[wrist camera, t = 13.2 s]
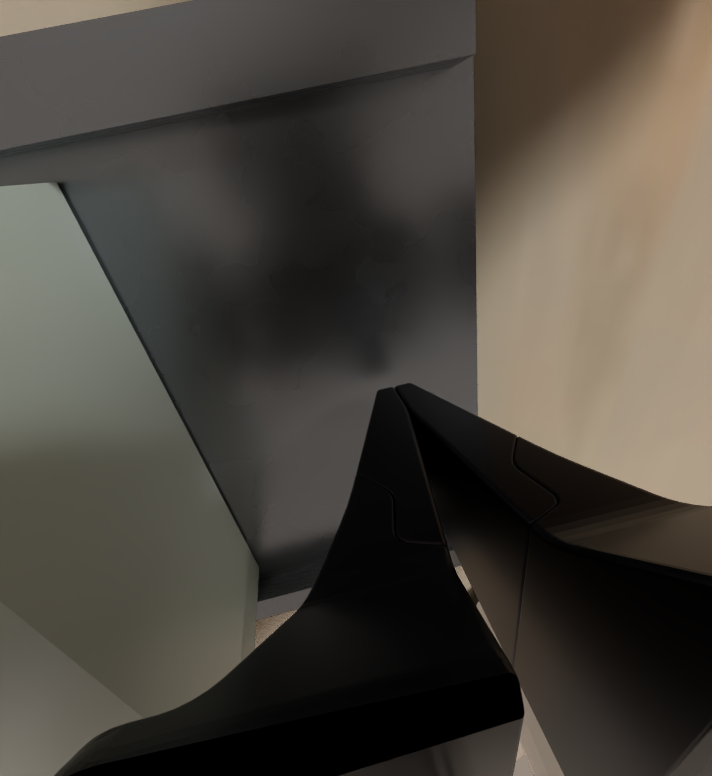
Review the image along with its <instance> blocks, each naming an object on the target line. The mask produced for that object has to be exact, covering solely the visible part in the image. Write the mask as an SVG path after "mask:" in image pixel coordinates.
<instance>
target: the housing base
mask: <svg viewBox="0 0 712 776" xmlns="http://www.w3.org/2000/svg"><path fill="white" fill-rule="evenodd" d="M475 54H476V0H193V1H188V2H182V3H177V4H172V5H166V6H161V7H156V8H151V9H145V10H140V11H135V12H129V13H124V14H119V15H113V16H108V17H103V18H98V19H92V20H87V21H82V22H76V23H71V24H66V25H60V26H55V27H50V28H45V29H39V30H34V31H29V32H23V33H18V34H13V35H7V36H2V37H0V186H12V185H24V184H37V183H49V182H57V184H58V186H59V188H60V190H61V192H62V194H63V196H64V198H65V199H66V201H67V203H68V205H69V207H70V209H71V211H72V213H73V215H74V217H75V218H76V220H77V222H78V224H79V226H80V228H81V230H82V232H83V234H84V236H85V237H86V239H87V241H88V243H89V245H90V247H91V249H92V251H93V253H94V255H95V256H96V258H97V260H98V262H99V264H100V266H101V268H102V270H103V272H104V274H105V275H106V277H107V279H108V281H109V283H110V285H111V287H112V289H113V291H114V293H115V294H116V296H117V298H118V300H119V302H120V304H121V306H122V308H123V310H124V312H125V313H126V315H127V317H128V319H129V321H130V323H131V325H132V327H133V329H134V331H135V332H136V334H137V336H138V338H139V340H140V342H141V344H142V346H143V348H144V350H145V351H146V353H147V355H148V357H149V359H150V361H151V363H152V365H153V367H154V369H155V370H156V372H157V374H158V376H159V378H160V380H161V382H162V384H163V386H164V388H165V389H166V391H167V393H168V395H169V397H170V399H171V401H172V403H173V405H174V407H175V408H176V410H177V412H178V414H179V416H180V418H181V420H182V422H183V424H184V426H185V427H186V429H187V431H188V433H189V435H190V437H191V439H192V441H193V443H194V445H195V446H196V448H197V450H198V452H199V454H200V456H201V458H202V460H203V462H204V464H205V465H206V467H207V469H208V471H209V473H210V475H211V477H212V479H213V481H214V483H215V484H216V486H217V488H218V490H219V492H220V494H221V496H222V498H223V500H224V502H225V503H226V505H227V507H228V509H229V511H230V513H231V515H232V517H233V519H234V521H235V522H236V524H237V526H238V528H239V530H240V532H241V534H242V536H243V538H244V540H245V541H246V543H247V545H248V547H249V549H250V551H251V553H252V555H253V557H254V559H255V560H256V562H257V564H258V566H259V582H258V598H257V615H256V620H259V619H263V618H267V617H271V616H274V615H278V614H282V613H286V612H289V611H293V610H297V609H299V608H300V607H301V605H302V604H303V602H304V601H305V599H306V598H307V596H308V594H309V593H310V591H311V589H312V587H313V585H314V582H315V580H316V578H317V576H318V574H319V571H320V569H321V567H322V564H323V562H324V560H325V557H326V555H327V553H328V551H329V548H330V546H331V544H332V541H333V539H334V537H335V534H336V532H337V530H338V528H339V525H340V523H341V520H342V517H343V515H344V512H345V510H346V507H347V504H348V501H349V498H350V494H351V491H352V487H353V483H354V480H355V476H356V472H357V468H358V464H359V461H360V457H361V453H362V449H363V445H364V441H365V437H366V433H367V429H368V425H369V421H370V417H371V413H372V409H373V405H374V401H375V397H376V393H377V391H378V390H380V389H384V388H389V387H393V388H394V389H395V387H396V386H398V385H402V384H406V383H412V384H414V385H416V386H418V387H420V388H422V389H424V390H426V391H428V392H430V393H432V394H434V395H436V396H438V397H440V398H442V399H444V400H446V401H448V402H450V403H452V404H454V405H456V406H458V407H460V408H462V409H464V410H466V411H468V412H470V413H472V414H475V415H477V416H478V402H477V315H476V229H475V142H474V55H475ZM442 528H443V527H442ZM443 531H444V529H443ZM444 535H445V538H446V542H447V545H448V549H449V552H450V556H451V559H452V562H453V565H454V567H457V566H461V564H460V561H459V559H458V557H457V555H456V553H455V551H454V549H453V547H452V545H451V543H450V541H449V539H448V537H447V535H446V533H445V531H444Z"/></svg>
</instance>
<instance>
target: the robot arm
mask: <svg viewBox="0 0 712 776" xmlns="http://www.w3.org/2000/svg"><path fill="white" fill-rule="evenodd" d="M442 527H443V528H442ZM443 529H444V531H445V533H446V535H447V537H448V539H449V541H450V543H451V545H452V547H453V549H454V551H455V553H456V555H457V557H458V559H459V561H460V564H461V566H462V568H463V570H464V572H465V574H466V576H467V578H468V580H469V582H470V584H471V586H472V588H473V590H474V592H475V594H476V596H477V598H478V600H479V602H480V604H481V606H482V608H483V610H484V613H485V615H486V617H487V619H488V621H489V623H490V625H491V627H492V629H493V631H494V633H495V635H496V637H497V639H498V641H499V643H500V645H501V646H500V645H499V643H498V642H497V640H496V638H495V637H494V635H493V633H492V632H491V630H490V628H489V627H488V625H487V623H486V622H485V620H484V618H483V617H482V615H481V613H480V612H479V610H478V608H477V607H476V605H475V603H474V602H473V600H472V599H471V597H470V595H469V594H468V592H467V590H466V589H465V587H464V585H463V584H462V582H461V580H460V579H459V577H458V575H457V573H456V570H455V568H454V565H453V562H452V559H451V556H450V552H449V549H448V545H447V542H446V538H445V535H444V531H443ZM501 647H502V648H501ZM502 649H503V650H502ZM520 686H521V687H520ZM521 688H522V690H523V692H524V695H525V697H526V699H527V701H528V703H529V705H530V707H531V709H532V711H533V713H534V715H535V717H536V719H537V721H538V723H539V725H540V727H541V729H542V731H543V733H544V735H545V737H546V739H547V741H548V744H549V746H550V748H551V750H552V752H553V754H554V756H555V758H556V760H557V762H558V764H559V766H560V768H561V770H562V772H563V774H564V776H712V506H701V505H693V504H687V503H682V502H678V501H674V500H670V499H667V498H664V497H661V496H658V495H656V494H653V493H650V492H648V491H645V490H643V489H640V488H638V487H635V486H633V485H630V484H628V483H625V482H623V481H620V480H618V479H615V478H613V477H610V476H608V475H605V474H603V473H600V472H598V471H595V470H593V469H590V468H588V467H585V466H583V465H580V464H578V463H575V462H573V461H571V460H568V459H566V458H564V457H561V456H559V455H556V454H554V453H552V452H550V451H548V450H546V449H544V448H542V447H539V446H537V445H535V444H533V443H531V442H529V441H527V440H525V439H523V438H521V437H517V436H516V435H515V434H513V433H511V432H509V431H507V430H505V429H503V428H501V427H499V426H497V425H495V424H493V423H491V422H489V421H487V420H485V419H483V418H481V417H479V416H477V415H475V414H472V413H470V412H468V411H466V410H464V409H462V408H460V407H458V406H456V405H454V404H452V403H450V402H448V401H446V400H444V399H442V398H440V397H438V396H436V395H434V394H432V393H430V392H428V391H426V390H424V389H422V388H420V387H418V386H416V385H414V384H412V383H406V384H402V385H398V386H396V387H395V389H394V388H393V387H389V388H384V389H380V390H378V391H377V393H376V397H375V401H374V405H373V409H372V413H371V417H370V421H369V425H368V429H367V433H366V437H365V441H364V445H363V449H362V453H361V457H360V461H359V464H358V468H357V472H356V476H355V480H354V483H353V487H352V491H351V494H350V498H349V501H348V504H347V507H346V510H345V512H344V515H343V517H342V520H341V523H340V525H339V528H338V530H337V532H336V534H335V537H334V539H333V541H332V544H331V546H330V548H329V551H328V553H327V555H326V557H325V560H324V562H323V564H322V567H321V569H320V571H319V574H318V576H317V578H316V580H315V582H314V585H313V587H312V589H311V591H310V593H309V594H308V596H307V598H306V599H305V601H304V602H303V604H302V605H301V607H300V608H299V609H298V610H297V612H296V613H295V614H293V615H292V616H291V617H290V618H289V619H288V620H287V621H286V622H285V623H284V624H282V625H281V626H280V627H279V628H278V629H277V630H276V631H275V632H274V633H272V634H271V635H270V636H269V637H268V638H267V639H266V640H265V641H264V642H262V643H261V644H260V645H259V646H258V647H257V648H256V649H255V650H254V651H252V652H251V653H250V654H249V655H248V656H247V657H246V658H245V659H244V660H243V661H241V662H240V663H239V664H238V665H237V666H236V667H235V668H234V669H233V670H231V671H230V672H229V673H228V674H227V675H226V676H225V677H224V678H222V679H221V680H220V681H219V682H218V683H216V684H215V685H214V686H213V687H211V688H210V689H209V690H207V691H206V692H204V693H202V694H201V695H199V696H198V697H196V698H194V699H193V700H191V701H189V702H187V703H185V704H183V705H181V706H179V707H177V708H175V709H173V710H170V711H167V712H164V713H161V714H158V715H155V716H151V717H147V718H143V719H140V720H136V721H132V722H128V723H125V724H122V725H119V726H116V727H113V728H111V729H109V730H107V731H105V732H103V733H101V734H99V735H97V736H96V737H94V738H93V739H91V740H90V741H89V742H88V743H87V744H85V745H84V746H83V747H82V748H81V749H80V750H79V751H78V752H77V753H76V754H75V755H74V756H73V757H72V758H71V759H70V760H69V761H68V762H67V763H66V764H65V765H64V766H63V767H62V768H61V769H60V770H59V771H58V772H57V773H56V774H55V775H54V776H513V772H514V767H515V762H516V756H517V751H518V746H519V740H520V735H521V730H522V724H523V719H524V714H525V711H524V704H523V698H522V693H521Z"/></svg>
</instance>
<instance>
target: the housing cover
mask: <svg viewBox="0 0 712 776" xmlns="http://www.w3.org/2000/svg"><path fill="white" fill-rule="evenodd" d="M258 582H259V566H258V564H257V562H256V560H255V559H254V557H253V555H252V553H251V551H250V549H249V547H248V545H247V543H246V541H245V540H244V538H243V536H242V534H241V532H240V530H239V528H238V526H237V524H236V522H235V521H234V519H233V517H232V515H231V513H230V511H229V509H228V507H227V505H226V503H225V502H224V500H223V498H222V496H221V494H220V492H219V490H218V488H217V486H216V484H215V483H214V481H213V479H212V477H211V475H210V473H209V471H208V469H207V467H206V465H205V464H204V462H203V460H202V458H201V456H200V454H199V452H198V450H197V448H196V446H195V445H194V443H193V441H192V439H191V437H190V435H189V433H188V431H187V429H186V427H185V426H184V424H183V422H182V420H181V418H180V416H179V414H178V412H177V410H176V408H175V407H174V405H173V403H172V401H171V399H170V397H169V395H168V393H167V391H166V389H165V388H164V386H163V384H162V382H161V380H160V378H159V376H158V374H157V372H156V370H155V369H154V367H153V365H152V363H151V361H150V359H149V357H148V355H147V353H146V351H145V350H144V348H143V346H142V344H141V342H140V340H139V338H138V336H137V334H136V332H135V331H134V329H133V327H132V325H131V323H130V321H129V319H128V317H127V315H126V313H125V312H124V310H123V308H122V306H121V304H120V302H119V300H118V298H117V296H116V294H115V293H114V291H113V289H112V287H111V285H110V283H109V281H108V279H107V277H106V275H105V274H104V272H103V270H102V268H101V266H100V264H99V262H98V260H97V258H96V256H95V255H94V253H93V251H92V249H91V247H90V245H89V243H88V241H87V239H86V237H85V236H84V234H83V232H82V230H81V228H80V226H79V224H78V222H77V220H76V218H75V217H74V215H73V213H72V211H71V209H70V207H69V205H68V203H67V201H66V199H65V198H64V196H63V194H62V192H61V190H60V188H59V186H58V184H57V182H49V183H37V184H24V185H12V186H0V776H54V775H55V774H56V773H57V772H58V771H59V770H60V769H61V768H62V767H63V766H64V765H65V764H66V763H67V762H68V761H69V760H70V759H71V758H72V757H73V756H74V755H75V754H76V753H77V752H78V751H79V750H80V749H81V748H82V747H83V746H84V745H85V744H87V743H88V742H89V741H90V740H91V739H93V738H94V737H96V736H97V735H99V734H101V733H103V732H105V731H107V730H109V729H111V728H113V727H116V726H119V725H122V724H125V723H128V722H132V721H136V720H140V719H143V718H147V717H151V716H155V715H158V714H161V713H164V712H167V711H170V710H173V709H175V708H177V707H179V706H181V705H183V704H185V703H187V702H189V701H191V700H193V699H194V698H196V697H198V696H199V695H201V694H202V693H204V692H206V691H207V690H209V689H210V688H211V687H213V686H214V685H215V684H216V683H218V682H219V681H220V680H221V679H222V678H224V677H225V676H226V675H227V674H228V673H229V672H230V671H231V670H233V669H234V668H235V667H236V666H237V665H238V664H239V663H240V662H241V661H243V660H244V659H245V658H246V657H247V656H248V655H249V654H250V653H251V652H252V651H254V649H255V632H256V615H257V598H258Z"/></svg>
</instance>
